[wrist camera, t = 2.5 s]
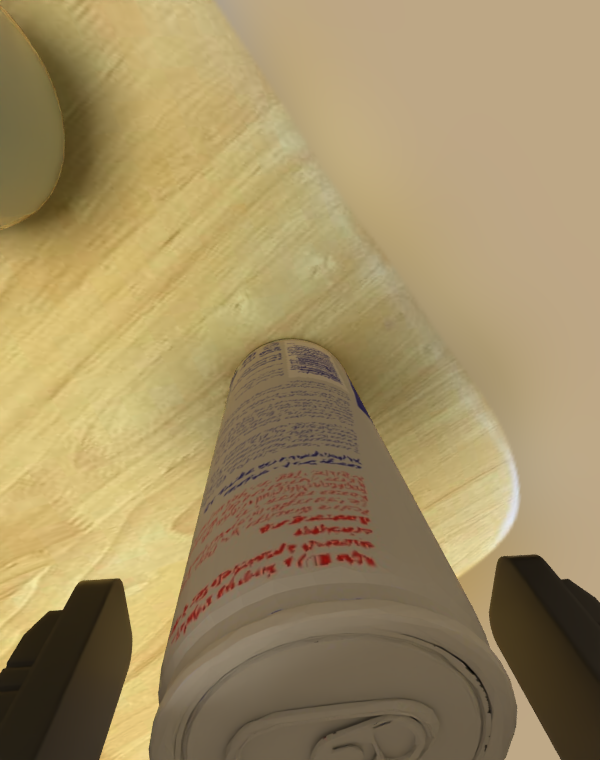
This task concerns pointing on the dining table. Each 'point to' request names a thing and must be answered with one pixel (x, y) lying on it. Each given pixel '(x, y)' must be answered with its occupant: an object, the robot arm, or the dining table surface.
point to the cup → (26, 127)
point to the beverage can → (320, 594)
